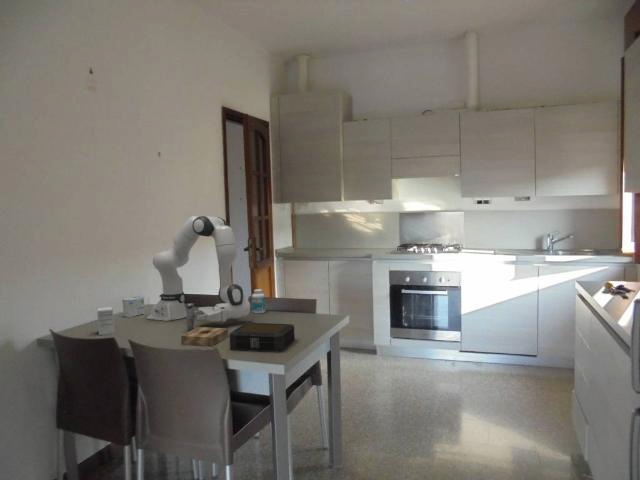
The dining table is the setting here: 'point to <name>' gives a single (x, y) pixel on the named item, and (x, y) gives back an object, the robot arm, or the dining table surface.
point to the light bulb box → (133, 306)
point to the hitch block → (204, 336)
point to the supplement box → (105, 320)
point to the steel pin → (190, 316)
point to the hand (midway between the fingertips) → (193, 315)
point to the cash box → (262, 337)
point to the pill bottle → (258, 301)
